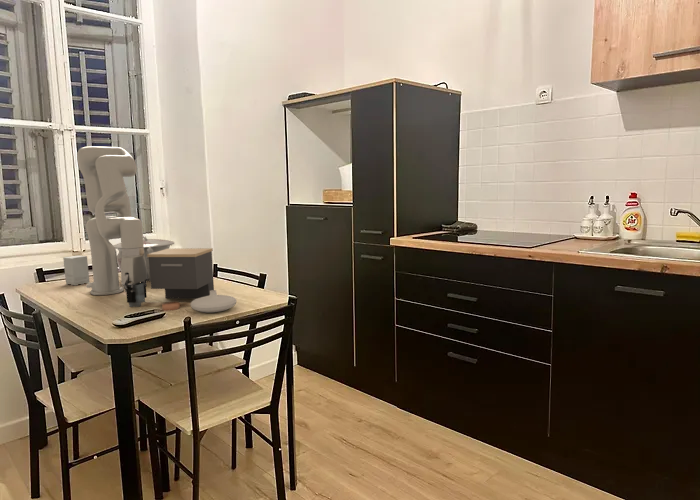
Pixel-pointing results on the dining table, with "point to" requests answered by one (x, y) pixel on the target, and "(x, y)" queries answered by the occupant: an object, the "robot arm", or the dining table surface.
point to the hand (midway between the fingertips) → (137, 299)
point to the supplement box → (76, 270)
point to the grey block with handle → (141, 298)
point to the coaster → (170, 306)
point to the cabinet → (182, 272)
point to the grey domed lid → (213, 303)
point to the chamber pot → (146, 250)
